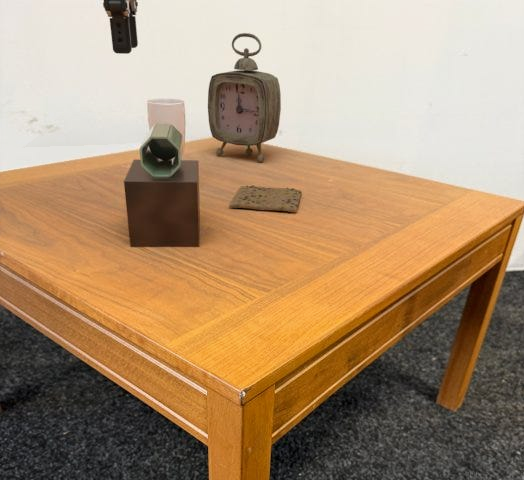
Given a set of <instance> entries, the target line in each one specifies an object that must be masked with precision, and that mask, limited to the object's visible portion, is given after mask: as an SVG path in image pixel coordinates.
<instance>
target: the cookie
mask: <svg viewBox="0 0 524 480" xmlns="http://www.w3.org/2000/svg"><path fill="white" fill-rule="evenodd" d="M302 193H303V192H302V190H301V189H296V188H294V187H293V188H289V187H263V186H255V185H250V186H249V185H242V186H240V187H239V188H238V190H237V191H236V194H235V195H234V196H233V198H232V200H231V201H230V203H229V204H228V207H229V208H231V209H234V208H235V209H237V208H239V209H240V208H241V209H251V210H261V211H281V212H289V213H295V214H296V213H297V211H298V208H299V206H300V203H301V202H300V200H301V197H302V195H303V194H302Z"/></svg>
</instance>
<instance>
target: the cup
mask: <svg viewBox="0 0 524 480" xmlns="http://www.w3.org/2000/svg"><path fill="white" fill-rule="evenodd" d="M182 155H183V136H182V134H181V133H180V132H179V131H178V130H177V129H176V128H175V127H174V126H173V125H172V124H160V123H157V124H155V125H154V126H153V127H152V128H151V129H150V130H149V129H148V131H147V133H146V134H145V136H144V138H143V141H142V142H141V145H140V147H139V158H140V159H139V160H140V161H141V165H142V167H143V168H144V169H145V170H146V171H147V172H148V173H149V174H151V175H152V176H154V177H166V178H169V176H170V177H171V176H172V175H173V174H174V173H175V172H176V171H177V170H178V169H179V167H180V166H181V161H182ZM171 159H172V160H171Z"/></svg>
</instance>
